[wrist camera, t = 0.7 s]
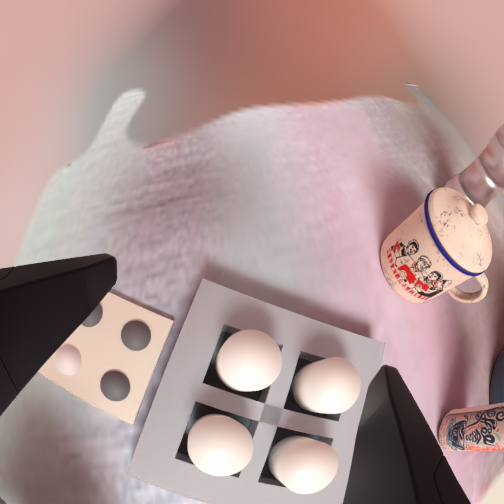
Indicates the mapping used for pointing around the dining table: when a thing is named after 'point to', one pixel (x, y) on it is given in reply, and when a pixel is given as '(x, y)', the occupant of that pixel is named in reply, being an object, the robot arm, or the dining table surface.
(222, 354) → the button
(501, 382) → the canister
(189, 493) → the board
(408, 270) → the teacup with lid
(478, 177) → the plastic bottle
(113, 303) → the card
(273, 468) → the button
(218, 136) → the dining table surface
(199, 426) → the button
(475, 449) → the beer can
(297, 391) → the button
